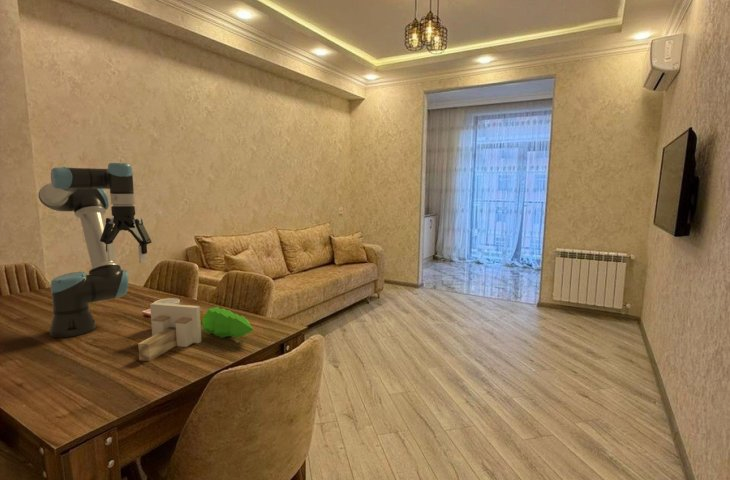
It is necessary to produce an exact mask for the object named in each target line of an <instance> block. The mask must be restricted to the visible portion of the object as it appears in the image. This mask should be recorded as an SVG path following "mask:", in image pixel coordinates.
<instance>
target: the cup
mask: <svg viewBox="0 0 730 480" xmlns="http://www.w3.org/2000/svg"><path fill="white" fill-rule="evenodd" d="M180 300H181V299H179V298H177V297H173V298H172V297H169V298H168V297H167V298H162V299H158V300H155V301H154V302H153V303H165V304H178V305H180V302H181V301H180Z"/></svg>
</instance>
